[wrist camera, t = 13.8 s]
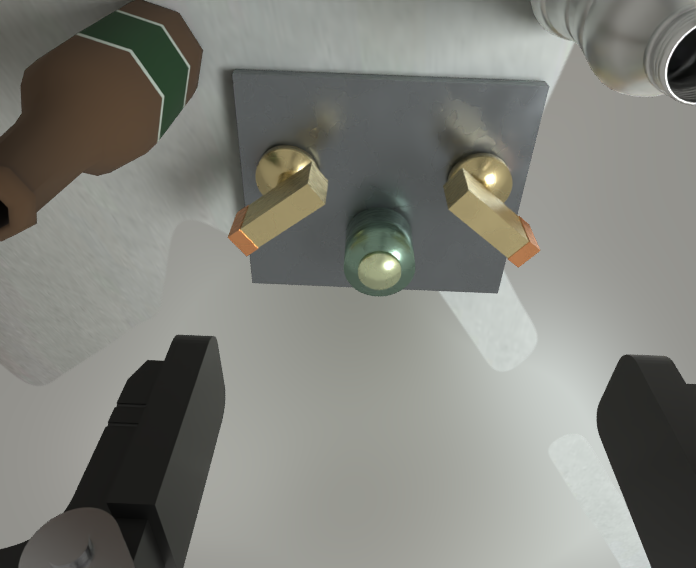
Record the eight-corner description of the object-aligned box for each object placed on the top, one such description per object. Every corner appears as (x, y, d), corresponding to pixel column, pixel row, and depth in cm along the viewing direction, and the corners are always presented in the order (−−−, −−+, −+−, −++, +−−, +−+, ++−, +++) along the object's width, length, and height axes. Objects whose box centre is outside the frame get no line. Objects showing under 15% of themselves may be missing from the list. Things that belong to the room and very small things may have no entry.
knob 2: (424, 176, 46) (432, 224, 40) (470, 131, 44) (486, 174, 38) (486, 227, 49) (502, 279, 43) (533, 188, 47) (557, 237, 40)
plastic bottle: (565, 48, 41) (688, 167, 25) (501, -12, 39) (592, 76, 23) (640, -31, 38) (834, 48, 22) (574, -102, 36) (739, -71, 20)
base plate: (235, 69, 43) (215, 99, 37) (545, 81, 43) (570, 113, 37) (254, 275, 55) (241, 320, 50) (495, 285, 55) (509, 332, 49)
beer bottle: (226, 47, 42) (106, 202, 23) (175, 122, 46) (36, 310, 27) (133, -29, 39) (-94, 77, 20) (86, 58, 43) (-141, 217, 24)
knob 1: (303, 124, 44) (292, 166, 38) (342, 173, 46) (338, 220, 40) (233, 175, 47) (212, 223, 41) (273, 219, 49) (260, 269, 43)
